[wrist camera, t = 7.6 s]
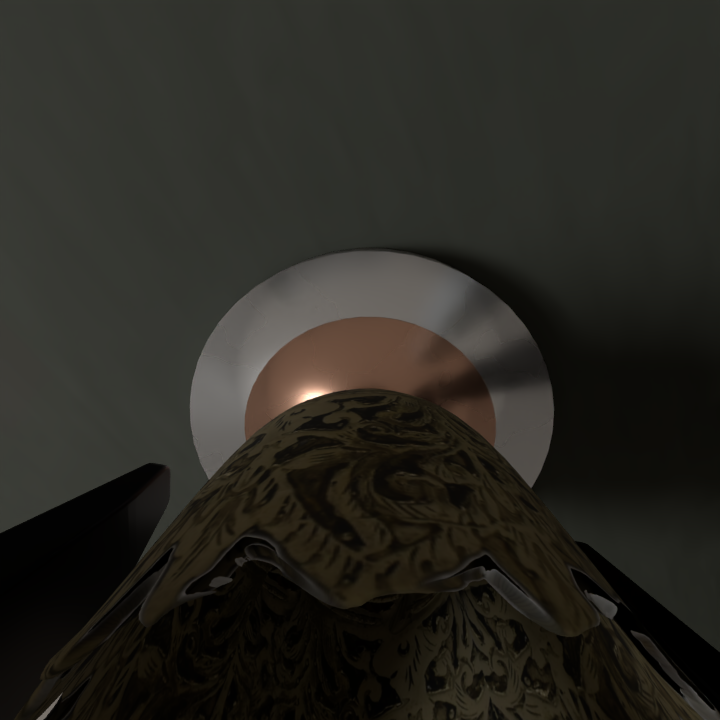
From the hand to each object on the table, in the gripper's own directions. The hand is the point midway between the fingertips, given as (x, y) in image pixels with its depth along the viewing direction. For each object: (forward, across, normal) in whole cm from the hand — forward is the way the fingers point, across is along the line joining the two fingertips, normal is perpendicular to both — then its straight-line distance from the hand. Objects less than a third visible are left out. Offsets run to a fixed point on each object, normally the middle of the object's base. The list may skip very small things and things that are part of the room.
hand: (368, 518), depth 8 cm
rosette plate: (+4, 0, 0) cm, 4 cm away
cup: (+3, 0, 0) cm, 3 cm away
